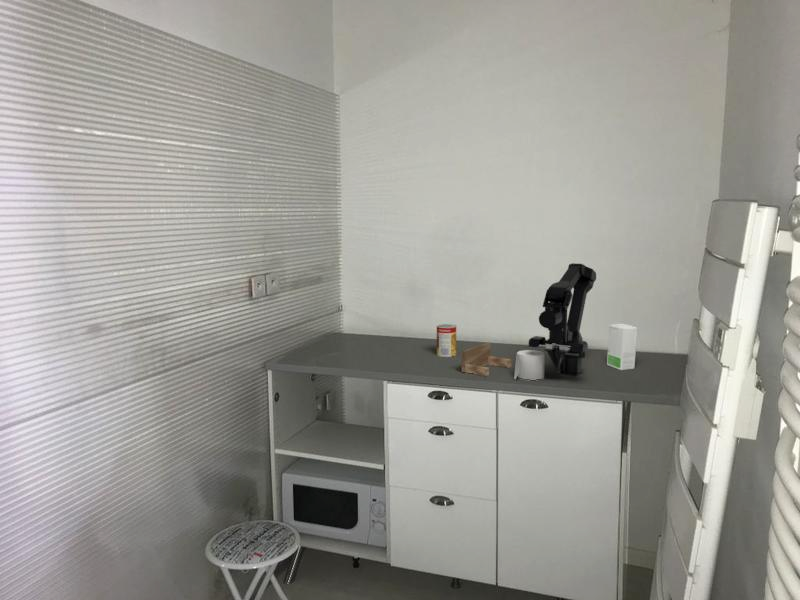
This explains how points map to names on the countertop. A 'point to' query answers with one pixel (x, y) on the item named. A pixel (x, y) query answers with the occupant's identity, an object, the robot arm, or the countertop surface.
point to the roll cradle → (481, 360)
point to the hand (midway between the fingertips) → (557, 369)
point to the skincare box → (622, 346)
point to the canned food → (446, 340)
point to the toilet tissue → (530, 364)
